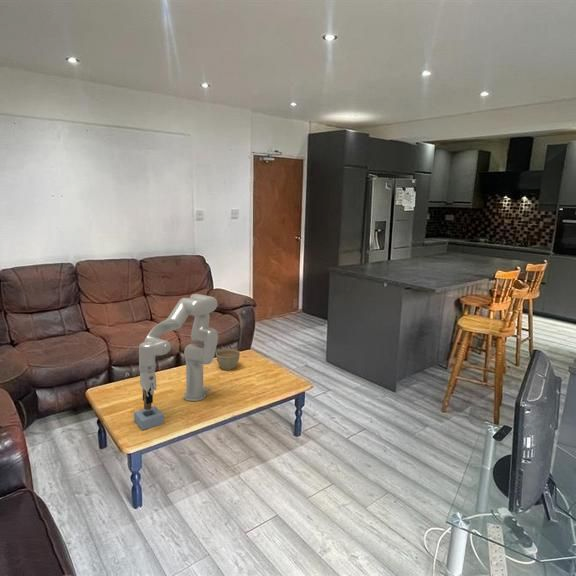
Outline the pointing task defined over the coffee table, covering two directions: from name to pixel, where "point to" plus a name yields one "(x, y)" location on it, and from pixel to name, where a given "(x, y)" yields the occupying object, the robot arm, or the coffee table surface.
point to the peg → (146, 406)
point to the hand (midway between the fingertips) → (147, 401)
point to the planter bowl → (227, 358)
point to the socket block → (148, 418)
